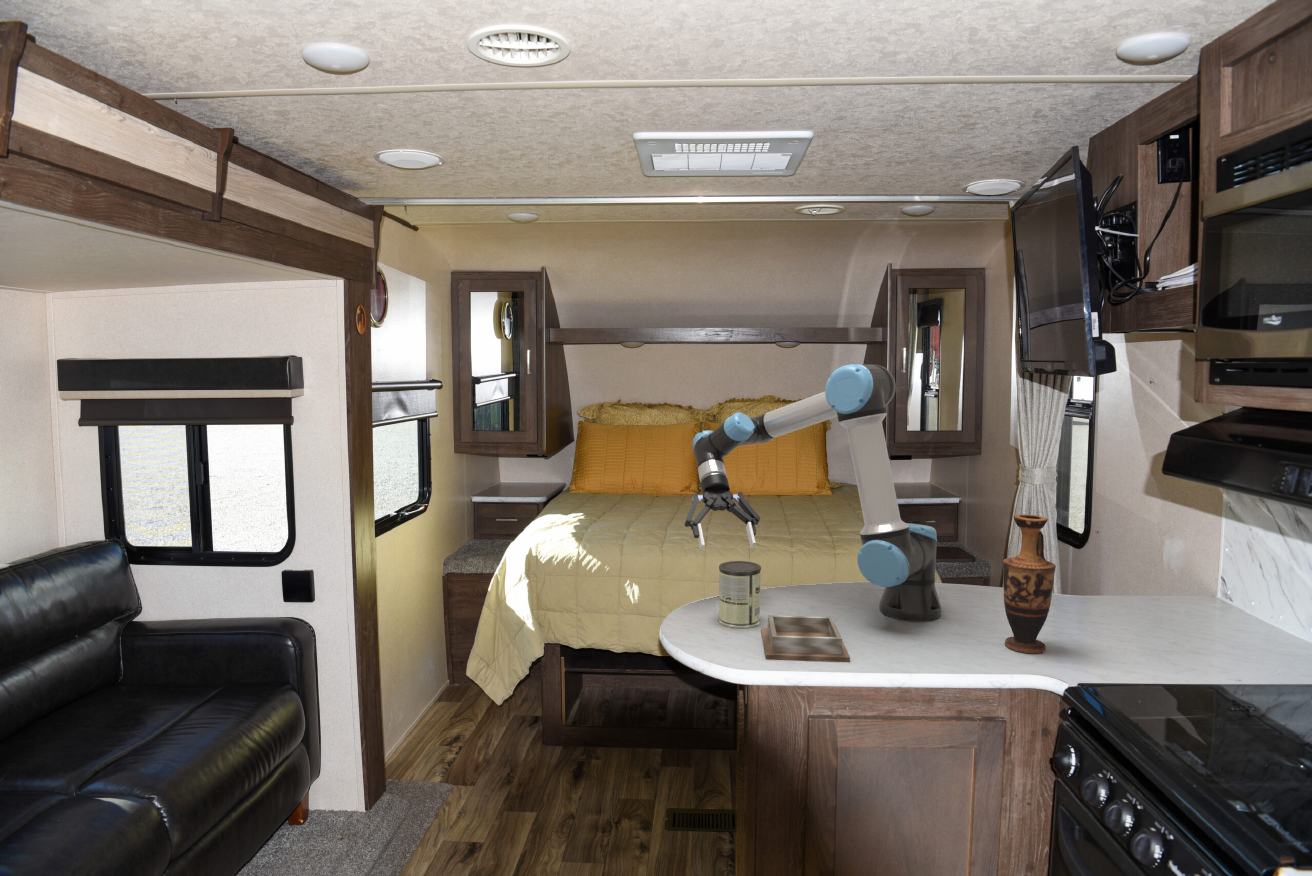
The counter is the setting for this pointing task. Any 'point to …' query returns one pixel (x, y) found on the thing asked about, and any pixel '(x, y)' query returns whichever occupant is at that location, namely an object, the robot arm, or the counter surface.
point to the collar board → (803, 639)
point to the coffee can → (739, 594)
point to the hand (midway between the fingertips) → (727, 546)
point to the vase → (1028, 586)
